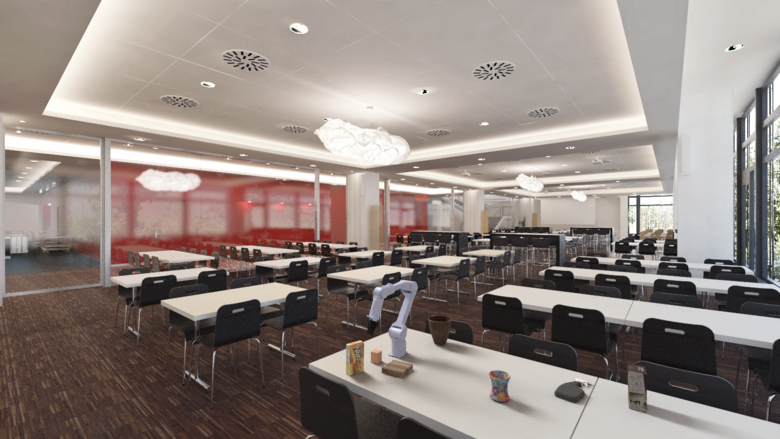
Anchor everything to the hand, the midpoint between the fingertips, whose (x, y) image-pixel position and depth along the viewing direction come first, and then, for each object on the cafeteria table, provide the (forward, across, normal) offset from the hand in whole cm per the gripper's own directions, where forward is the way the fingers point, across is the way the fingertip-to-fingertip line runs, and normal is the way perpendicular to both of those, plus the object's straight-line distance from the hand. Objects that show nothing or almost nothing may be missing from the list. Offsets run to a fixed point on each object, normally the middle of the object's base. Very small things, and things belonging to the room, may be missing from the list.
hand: (369, 334), depth 188 cm
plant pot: (-4, -31, +50) cm, 59 cm away
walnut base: (+15, +2, +19) cm, 24 cm away
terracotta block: (+14, -11, +9) cm, 20 cm away
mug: (+11, +36, +60) cm, 71 cm away
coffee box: (-1, +53, +113) cm, 125 cm away
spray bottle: (0, +37, +95) cm, 102 cm away
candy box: (+20, 0, -2) cm, 20 cm away
